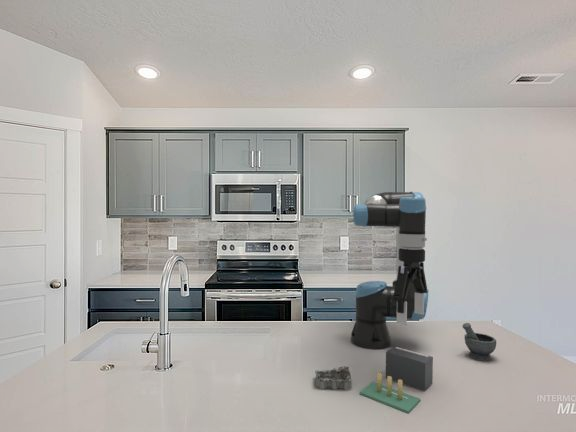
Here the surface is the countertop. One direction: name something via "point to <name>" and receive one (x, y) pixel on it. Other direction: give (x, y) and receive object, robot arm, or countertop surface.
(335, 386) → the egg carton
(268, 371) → the countertop surface
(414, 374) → the block
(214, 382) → the countertop surface
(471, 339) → the mortar and pestle
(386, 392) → the board
